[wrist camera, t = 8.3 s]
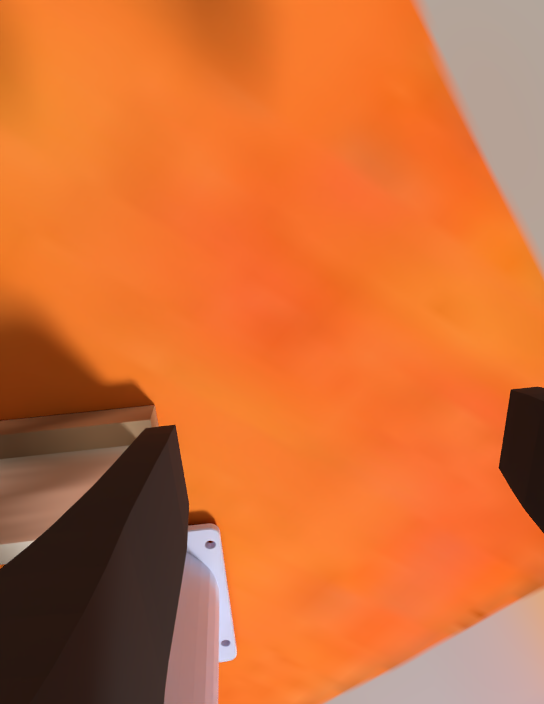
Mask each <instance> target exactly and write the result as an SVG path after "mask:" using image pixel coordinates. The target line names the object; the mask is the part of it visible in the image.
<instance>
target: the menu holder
mask: <svg viewBox="0 0 544 704" xmlns="http://www.w3.org/2000/svg"><path fill="white" fill-rule="evenodd" d="M150 427H159V426H158V420H157V415H156V410H155V405H150V406H140V407H130V408H120V409H110V410H101V411H91V412H81V413H71V414H62V415H52V416H42V417H32V418H22V419H13V420H3V421H0V565H2V564H7V563H8V562H9V561H11V560H12V559H13V558H14V557H15V556H17V555H18V554H19V553H20V552H22V551H23V550H24V549H25V548H27V547H28V546H29V545H30V544H31V543H32V542H34V541H35V540H36V539H37V538H38V537H39V536H41V535H42V534H43V533H44V532H45V531H46V530H47V529H48V528H49V527H51V526H52V525H53V524H54V523H55V522H56V521H57V520H58V519H59V518H60V517H61V516H62V515H63V514H64V513H65V512H66V511H67V510H68V509H69V508H70V507H71V506H72V505H74V504H75V503H76V502H77V501H78V500H79V499H80V498H81V497H82V496H83V495H84V494H85V493H86V492H87V491H88V490H89V489H90V488H91V487H92V486H93V485H94V484H95V483H96V482H97V481H98V480H99V479H100V477H101V476H102V475H103V474H104V473H105V472H106V471H107V470H108V469H109V468H110V467H111V466H112V465H113V463H114V462H115V461H116V460H117V459H118V458H119V457H120V456H121V455H122V453H123V452H124V451H125V450H126V449H127V448H128V447H129V446H130V445H131V443H132V442H133V441H134V440H135V439H136V438H137V437H138V436H139V435H140V433H141V432H142V431H143V430H144V429H145V428H150Z"/></svg>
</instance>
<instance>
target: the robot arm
mask: <svg viewBox="0 0 544 704" xmlns="http://www.w3.org/2000/svg"><path fill="white" fill-rule="evenodd" d="M499 469H500V471H501V472H502V474H503V476H504V478H505V479H506V481H507V483H508V484H509V486H510V488H511V489H512V491H513V493H514V494H515V496H516V497H517V499H518V500H519V502H520V503H521V505H522V506H523V508H524V509H525V511H526V512H527V513H528V514H529V516H530V517H531V518H532V519H533V521H534V522H535V523H536V524H537V526H538V527H539V528H540V529H541V531H542V532H543V533H544V388H542V387H531V388H522V389H512V390H511V392H510V399H509V405H508V412H507V418H506V425H505V431H504V437H503V444H502V450H501V457H500V463H499ZM188 516H189V501H188V495H187V489H186V484H185V478H184V472H183V466H182V460H181V455H180V449H179V443H178V437H177V431H176V426H175V425H169V426H160V427H150V428H145V429H144V430H143V431H142V432H141V433H140V435H139V436H138V437H137V438H136V439H135V440H134V441H133V442H132V443H131V445H130V446H129V447H128V448H127V449H126V450H125V451H124V452H123V453H122V455H121V456H120V457H119V458H118V459H117V460H116V461H115V462H114V463H113V465H112V466H111V467H110V468H109V469H108V470H107V471H106V472H105V473H104V474H103V475H102V476H101V477H100V479H99V480H98V481H97V482H96V483H95V484H94V485H93V486H92V487H91V488H90V489H89V490H88V491H87V492H86V493H85V494H84V495H83V496H82V497H81V498H80V499H79V500H78V501H77V502H76V503H75V504H74V505H72V506H71V507H70V508H69V509H68V510H67V511H66V512H65V513H64V514H63V515H62V516H61V517H60V518H59V519H58V520H57V521H56V522H55V523H54V524H53V525H52V526H51V527H49V528H48V529H47V530H46V531H45V532H44V533H43V534H42V535H41V536H39V537H38V538H37V539H36V540H35V541H34V542H32V543H31V544H30V545H29V546H28V547H27V548H25V549H24V550H23V551H22V552H20V553H19V554H18V555H17V556H15V557H14V558H13V559H12V560H11V561H9V562H8V563H7V564H6V565H4V566H3V567H2V568H1V569H0V704H218V674H219V662H225V661H230V660H233V659H234V658H235V657H236V655H237V647H236V640H235V633H234V626H233V619H232V612H231V606H230V599H229V592H228V585H227V578H226V571H225V564H224V557H223V550H222V543H221V536H220V530H219V527H218V526H216V525H215V524H210V523H207V524H199V525H191V526H188ZM207 541H214V542H212V543H208V542H207Z"/></svg>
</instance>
